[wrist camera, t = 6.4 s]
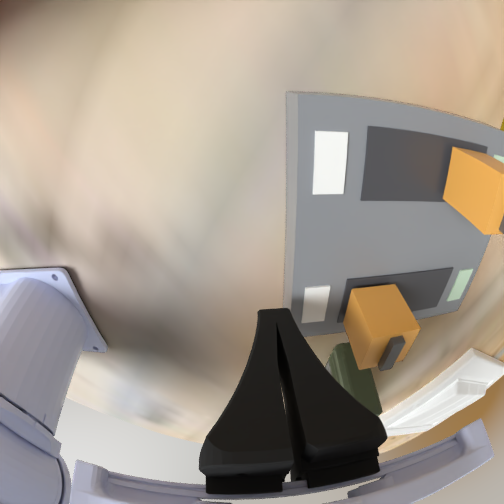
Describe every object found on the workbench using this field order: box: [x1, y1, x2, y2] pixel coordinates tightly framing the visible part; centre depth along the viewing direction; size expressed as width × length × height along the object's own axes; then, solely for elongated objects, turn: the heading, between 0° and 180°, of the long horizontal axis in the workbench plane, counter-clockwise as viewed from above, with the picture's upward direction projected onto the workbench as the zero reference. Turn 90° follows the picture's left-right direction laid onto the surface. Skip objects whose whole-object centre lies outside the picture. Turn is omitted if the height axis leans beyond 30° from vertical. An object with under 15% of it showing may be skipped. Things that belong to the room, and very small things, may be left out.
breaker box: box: [283, 92, 504, 337], centre depth 13 cm, size 12×12×3 cm
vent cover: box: [379, 348, 504, 436], centre depth 31 cm, size 23×3×21 cm
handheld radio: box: [325, 343, 383, 416], centre depth 24 cm, size 7×3×25 cm
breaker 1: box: [343, 284, 421, 371], centre depth 12 cm, size 2×2×3 cm
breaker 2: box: [443, 147, 504, 235], centre depth 8 cm, size 2×2×3 cm
